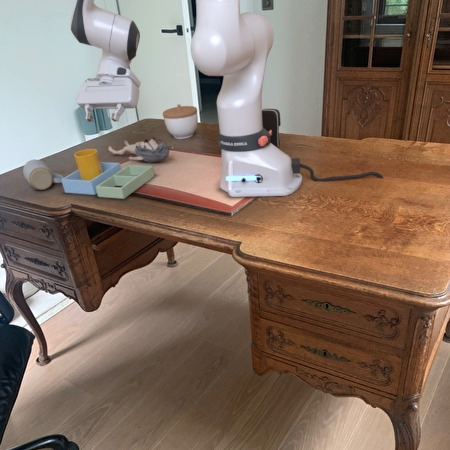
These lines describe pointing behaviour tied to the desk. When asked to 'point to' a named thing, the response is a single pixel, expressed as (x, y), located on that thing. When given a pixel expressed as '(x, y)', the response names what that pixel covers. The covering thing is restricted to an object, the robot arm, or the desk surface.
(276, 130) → the battery charger
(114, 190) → the divided storage tray
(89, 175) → the tumbler
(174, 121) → the lidded bowl
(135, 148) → the anime figure
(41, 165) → the ceramic mug
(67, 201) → the desk surface
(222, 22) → the robot arm
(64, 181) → the open storage box
